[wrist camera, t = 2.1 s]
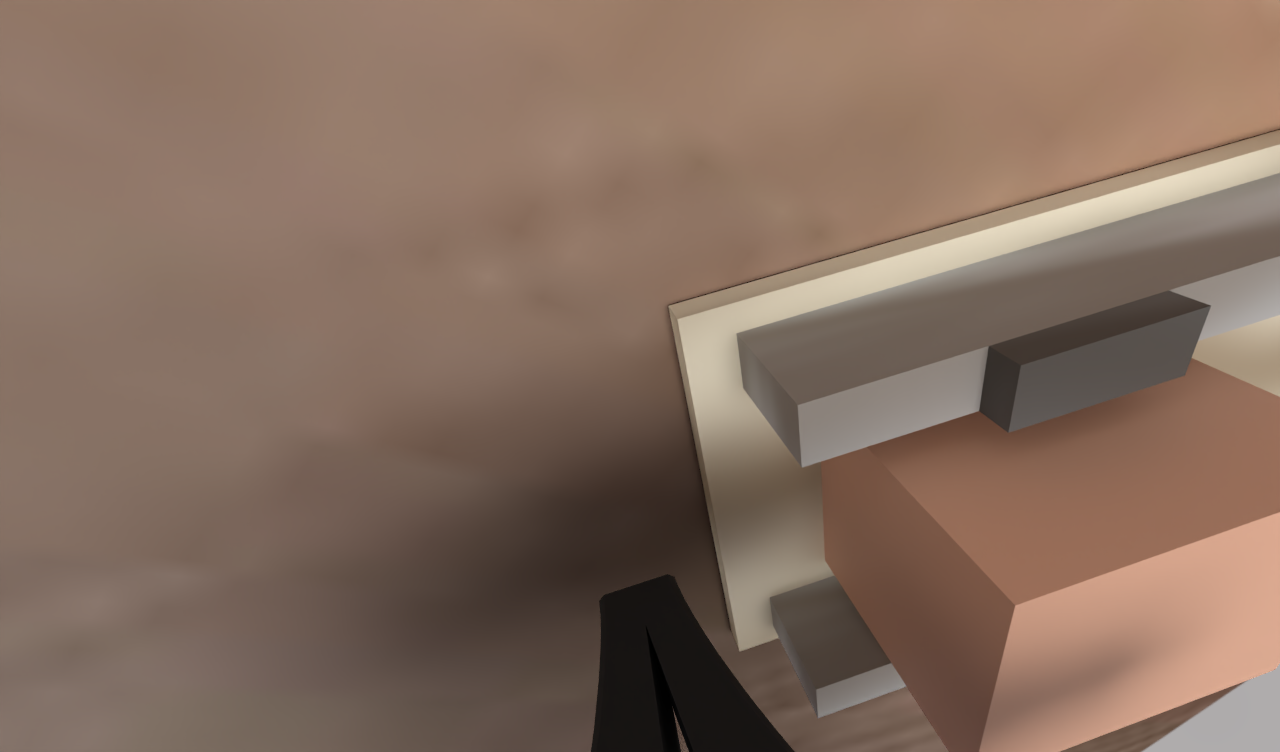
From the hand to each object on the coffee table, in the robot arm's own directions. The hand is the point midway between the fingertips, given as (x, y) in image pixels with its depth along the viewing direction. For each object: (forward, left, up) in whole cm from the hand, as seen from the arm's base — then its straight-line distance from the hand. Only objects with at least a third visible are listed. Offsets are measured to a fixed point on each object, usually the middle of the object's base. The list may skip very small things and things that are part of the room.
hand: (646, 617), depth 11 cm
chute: (0, -12, -2) cm, 13 cm away
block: (0, -7, -2) cm, 8 cm away
